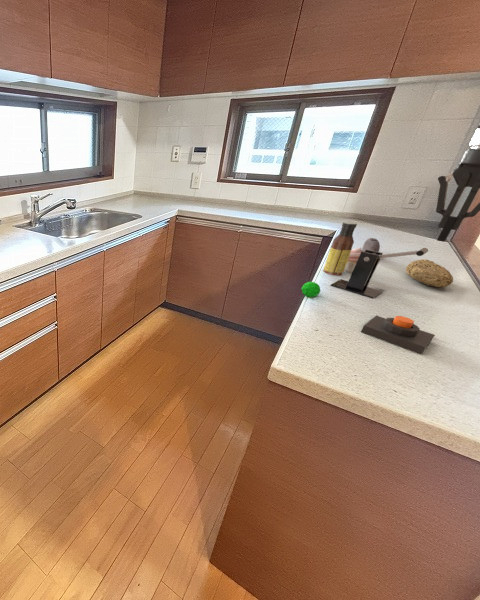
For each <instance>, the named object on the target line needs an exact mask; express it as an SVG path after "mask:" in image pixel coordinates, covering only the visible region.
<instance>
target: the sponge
mask: <svg viewBox="0 0 480 600" xmlns="http://www.w3.org/2000/svg"><path fill="white" fill-rule="evenodd" d="M405 272H406V275H408V276H409V277H410V278H412V279H414V280H416V281H417V282H419V283H422V284H424V285H427V286H431V287H436V288H446V287H448V286H450V285H451V284H453V282H454V281H453V280H454V277H453V275H452V274H451V272H450V271H449V270H448V269H446V268H445V267H444V266H442V265H440V264H438V263H435V262H434V261H433V260H430V259H425V258H422V259H421V258H420V259H417V260H413V261H412V262H410V263H408V264H407V265H406V267H405Z"/></svg>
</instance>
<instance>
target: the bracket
mask: <svg viewBox="0 0 480 600" xmlns="http://www.w3.org/2000/svg"><path fill="white" fill-rule="evenodd" d="M372 253H376V254H372ZM382 254H384V252H381V251H379V252H376V251H372V250H367V249H366V250H365V252H363V250H362V252H361V254H360V256H359V258H358V261H357V263H356V265H355V267H354V270H353V272H352V273H350V277H349V279H348V280H345V279H338V280H337V281H335V282H333V283H331V284H330V287H332V288H336V289H340V290H342V291H345V292H349V293H352V294H356V295H360V296H363V297H365V298H369V299H375V298H376V297H377V296H378V295H380V294H382V292H383V290H380V289H377V288H373V287H369V284H370V282H371V280H372V277H373V276H374V273H375V271H376V269H377V267H378V264H380V263H379V262H380V260H381V258H378V256H379V255H382ZM377 258H378V259H377Z"/></svg>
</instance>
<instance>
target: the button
mask: <svg viewBox="0 0 480 600" xmlns="http://www.w3.org/2000/svg"><path fill="white" fill-rule="evenodd" d="M393 318H394V320H393V322H392V323H393V324H395V325H397V326H400V327H403V328H411V327H412V325H413V324H415V321H414V320H413V319H412V318H409V317H406V316H402V315H396V316H395V317H393Z"/></svg>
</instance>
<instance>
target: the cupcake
mask: <svg viewBox="0 0 480 600" xmlns="http://www.w3.org/2000/svg"><path fill="white" fill-rule="evenodd" d="M362 251H363V249H362V248H361V247H356V248H352V250H351V253H350V256H349V258H348V261H347V264H346V266H345V269H344V272H343V273H348V274H352V272H353V270H354V267H355V265H356V263H357V261H358V258H359V256H360V254H361V252H362Z"/></svg>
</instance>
